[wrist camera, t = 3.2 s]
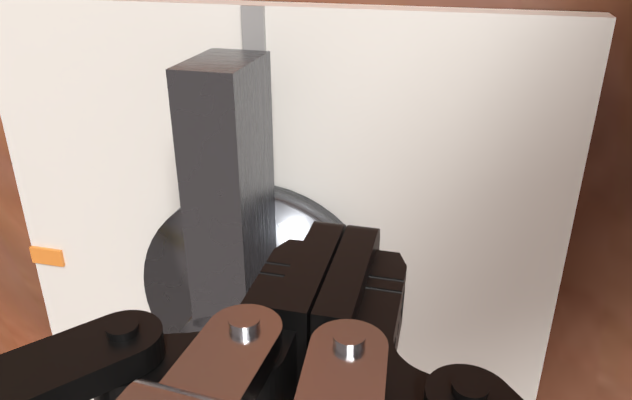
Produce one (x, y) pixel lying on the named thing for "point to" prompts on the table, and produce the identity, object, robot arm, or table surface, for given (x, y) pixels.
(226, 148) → the dial
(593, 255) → the table surface
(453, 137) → the dial plate
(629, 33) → the table surface
